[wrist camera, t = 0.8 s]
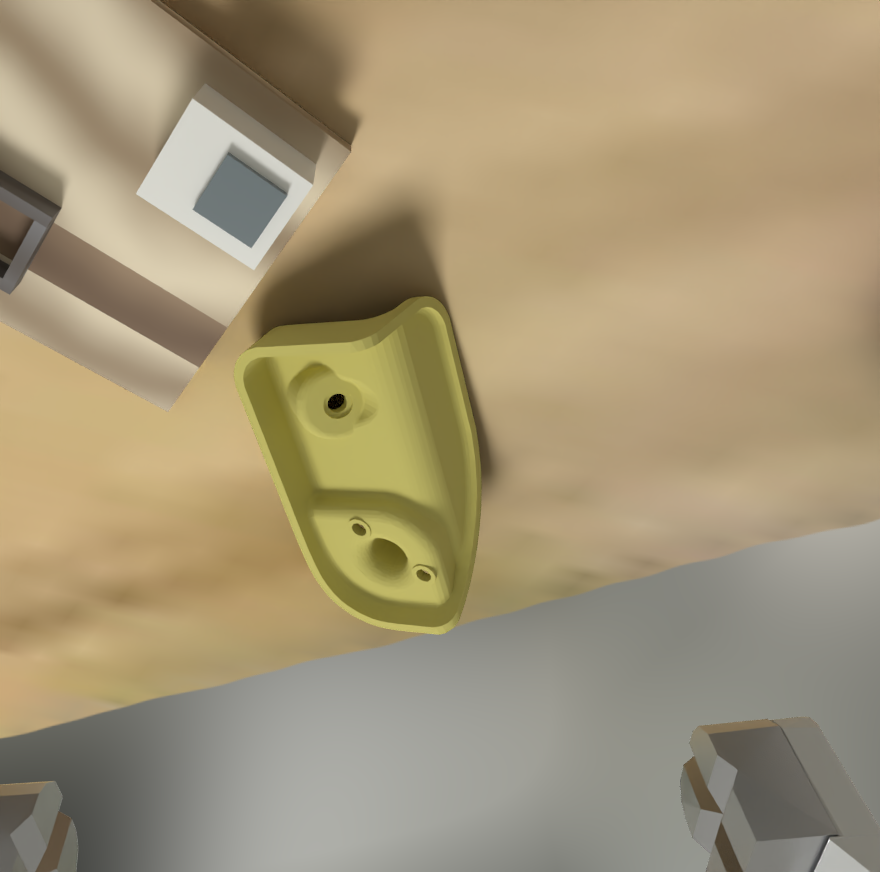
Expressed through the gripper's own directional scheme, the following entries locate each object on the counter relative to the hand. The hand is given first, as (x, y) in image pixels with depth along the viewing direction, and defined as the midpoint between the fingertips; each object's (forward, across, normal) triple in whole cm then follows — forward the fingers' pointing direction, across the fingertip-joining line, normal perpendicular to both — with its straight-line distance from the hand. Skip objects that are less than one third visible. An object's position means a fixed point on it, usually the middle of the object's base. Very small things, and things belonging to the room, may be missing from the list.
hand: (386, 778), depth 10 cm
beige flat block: (+35, +12, +2) cm, 37 cm away
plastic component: (+36, 0, +18) cm, 40 cm away
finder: (+34, +6, +1) cm, 34 cm away
